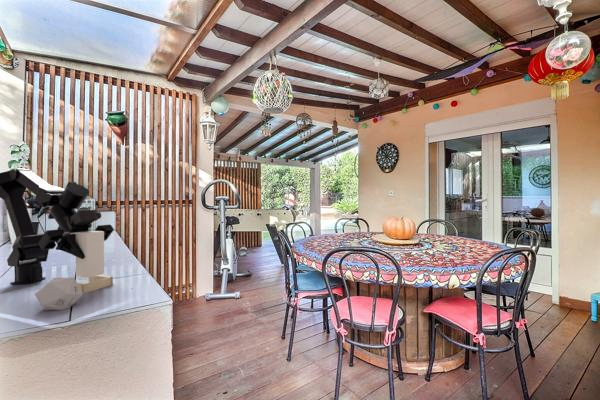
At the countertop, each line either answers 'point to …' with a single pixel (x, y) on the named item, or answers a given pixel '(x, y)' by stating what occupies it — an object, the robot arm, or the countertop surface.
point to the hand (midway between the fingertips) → (93, 256)
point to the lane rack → (95, 283)
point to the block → (90, 253)
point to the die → (59, 294)
